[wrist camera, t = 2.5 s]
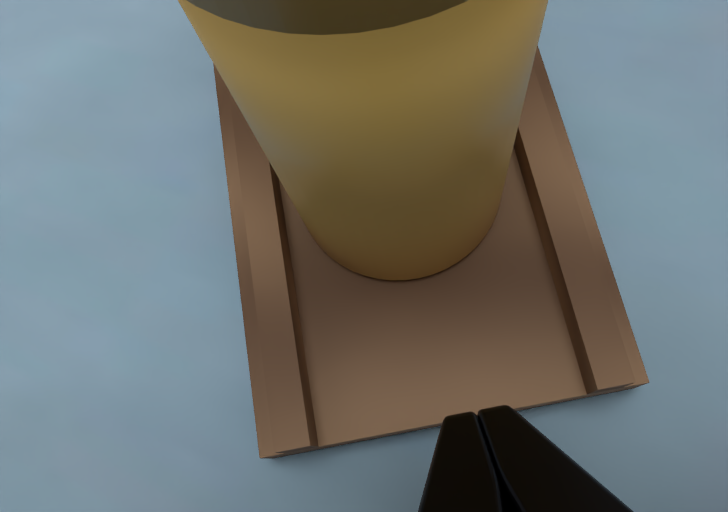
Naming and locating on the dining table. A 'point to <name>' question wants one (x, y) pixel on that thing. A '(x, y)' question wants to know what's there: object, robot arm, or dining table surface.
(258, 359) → the rail
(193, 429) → the dining table surface
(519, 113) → the tan cylinder
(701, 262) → the dining table surface
